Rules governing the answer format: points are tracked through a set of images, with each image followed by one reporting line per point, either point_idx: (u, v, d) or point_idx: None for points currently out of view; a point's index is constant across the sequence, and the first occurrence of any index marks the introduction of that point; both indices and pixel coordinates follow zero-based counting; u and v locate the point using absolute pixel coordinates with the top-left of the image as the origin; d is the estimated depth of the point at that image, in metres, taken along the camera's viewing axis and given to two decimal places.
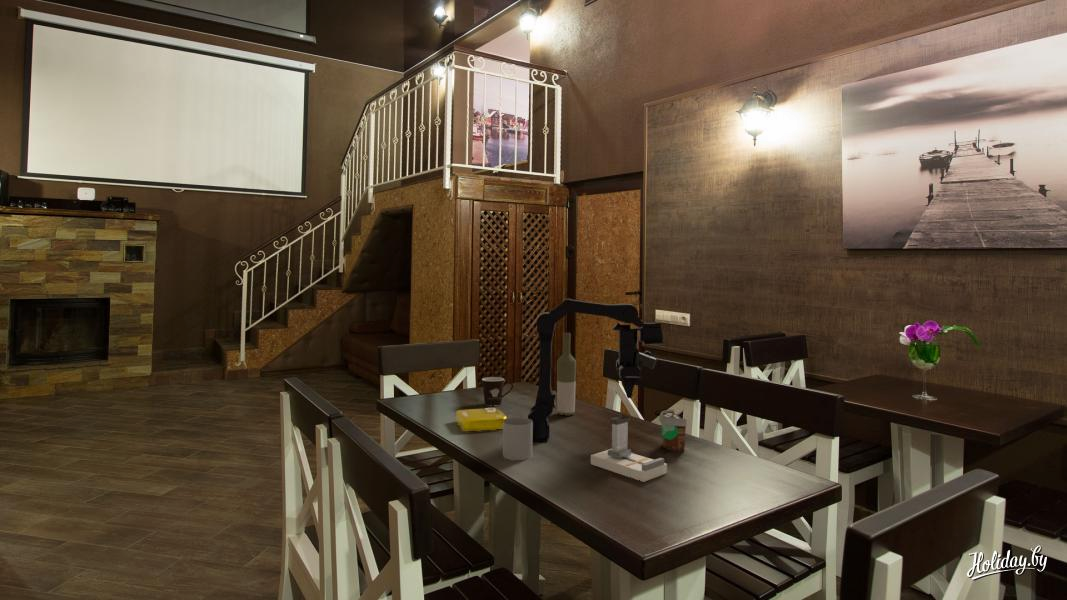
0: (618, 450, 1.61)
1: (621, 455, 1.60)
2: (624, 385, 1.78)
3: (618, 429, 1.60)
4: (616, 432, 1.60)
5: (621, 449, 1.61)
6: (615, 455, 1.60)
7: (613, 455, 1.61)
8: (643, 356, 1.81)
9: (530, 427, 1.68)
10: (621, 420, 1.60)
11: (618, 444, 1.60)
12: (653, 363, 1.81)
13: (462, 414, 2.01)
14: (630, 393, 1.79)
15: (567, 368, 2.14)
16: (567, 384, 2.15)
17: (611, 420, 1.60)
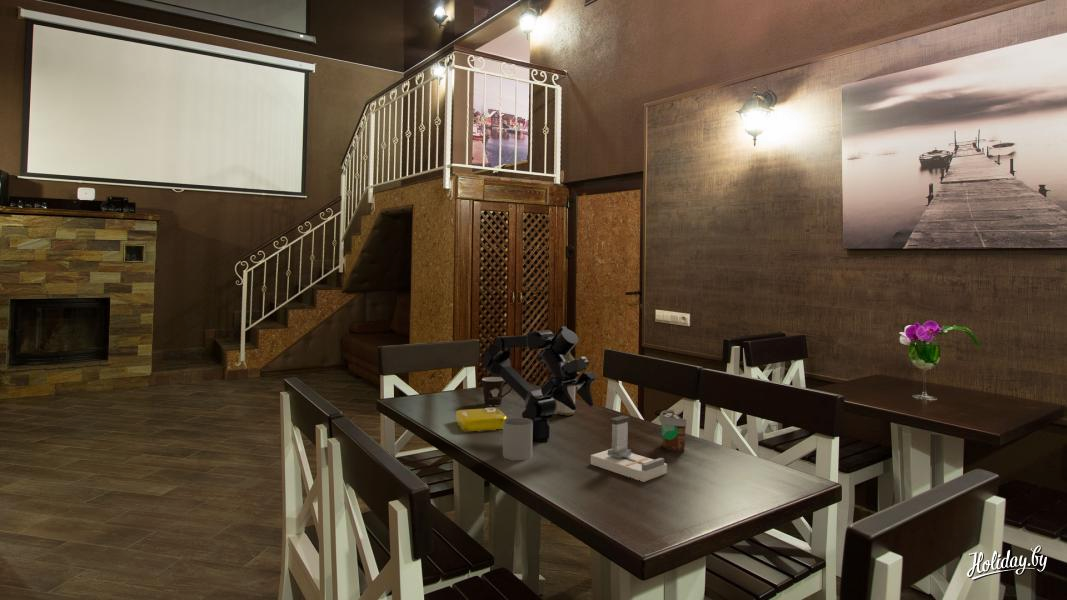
0: (618, 450, 1.61)
1: (621, 455, 1.60)
2: (561, 401, 1.71)
3: (618, 429, 1.60)
4: (616, 432, 1.60)
5: (621, 449, 1.61)
6: (615, 455, 1.60)
7: (613, 455, 1.61)
8: (565, 365, 1.74)
9: (530, 427, 1.68)
10: (621, 420, 1.60)
11: (618, 444, 1.60)
12: (574, 364, 1.71)
13: (462, 414, 2.01)
14: (571, 404, 1.70)
15: None
16: None
17: (611, 420, 1.60)
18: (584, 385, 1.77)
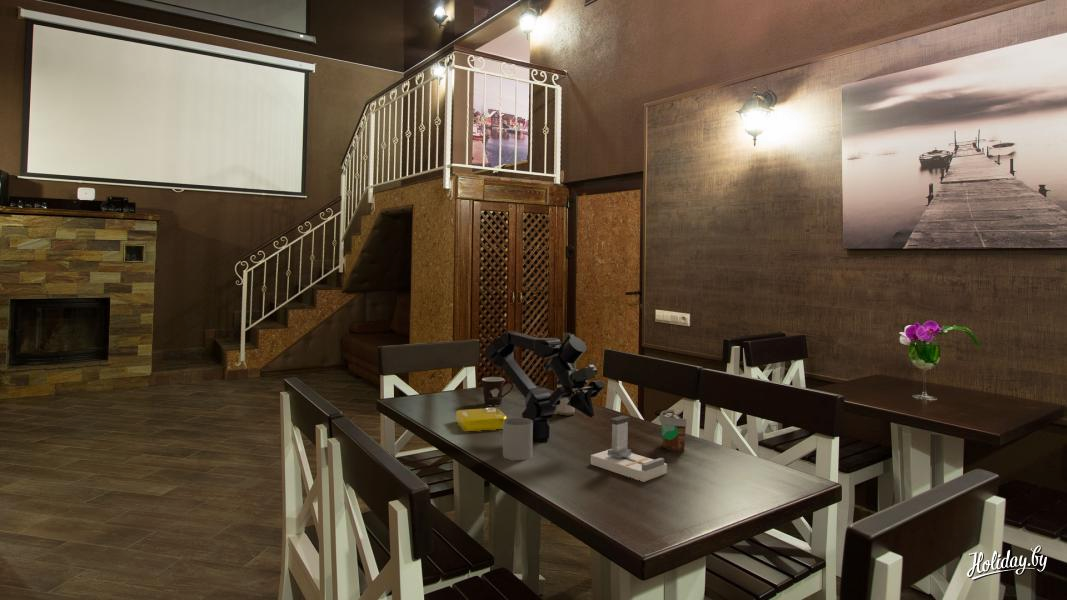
0: (618, 450, 1.61)
1: (621, 455, 1.60)
2: (578, 408, 1.71)
3: (618, 429, 1.60)
4: (616, 432, 1.60)
5: (621, 449, 1.61)
6: (615, 455, 1.60)
7: (613, 455, 1.61)
8: (573, 373, 1.71)
9: (530, 427, 1.68)
10: (621, 420, 1.60)
11: (618, 444, 1.60)
12: (582, 373, 1.69)
13: (462, 414, 2.01)
14: (588, 412, 1.69)
15: None
16: None
17: (611, 420, 1.60)
18: (585, 395, 1.72)
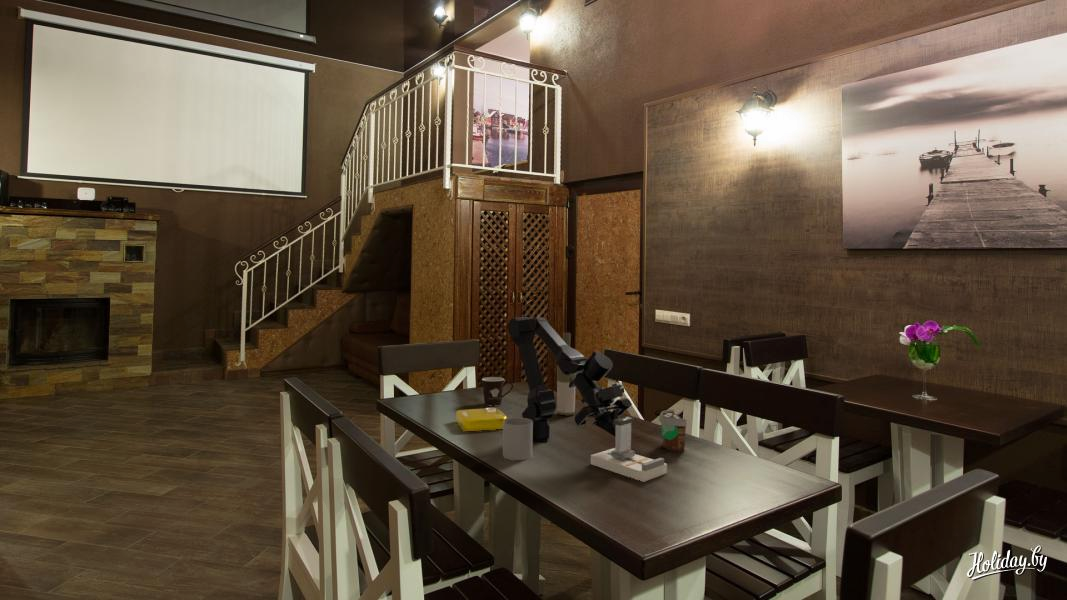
0: (621, 451, 1.60)
1: (625, 456, 1.59)
2: (604, 429, 1.64)
3: (622, 430, 1.59)
4: (619, 433, 1.59)
5: (624, 450, 1.61)
6: (618, 456, 1.59)
7: (616, 456, 1.60)
8: (599, 392, 1.64)
9: (530, 427, 1.68)
10: (624, 421, 1.59)
11: (621, 445, 1.59)
12: (609, 392, 1.61)
13: (462, 414, 2.01)
14: (615, 432, 1.62)
15: None
16: (567, 384, 2.15)
17: (614, 421, 1.60)
18: (611, 415, 1.65)
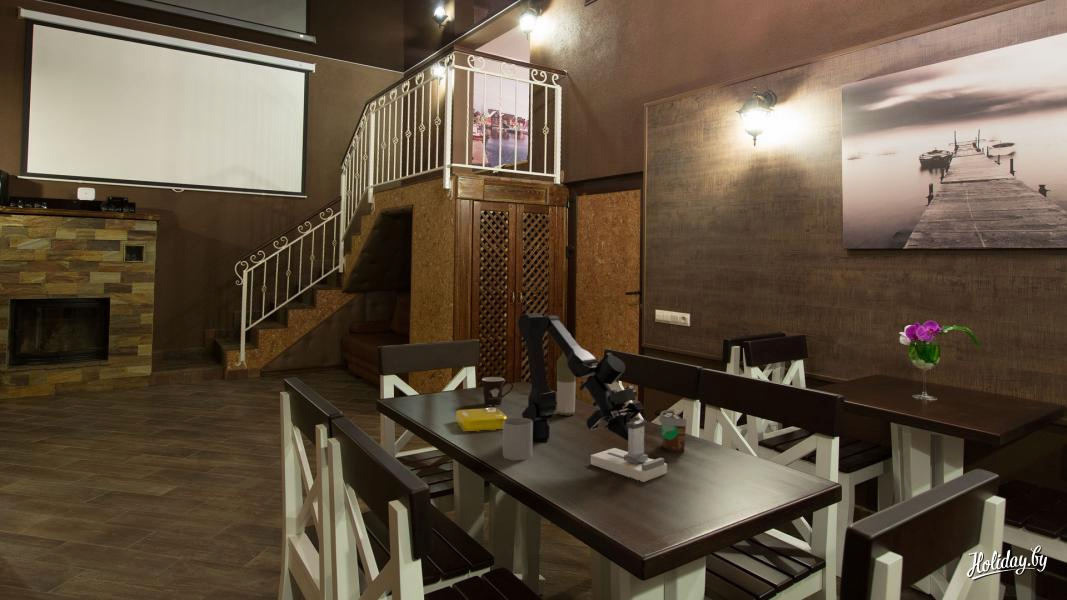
0: (634, 455, 1.56)
1: (638, 460, 1.56)
2: (617, 433, 1.61)
3: (635, 433, 1.56)
4: (632, 437, 1.56)
5: (637, 454, 1.57)
6: (631, 460, 1.56)
7: (629, 460, 1.57)
8: (611, 395, 1.61)
9: (530, 427, 1.68)
10: (638, 424, 1.56)
11: (634, 449, 1.56)
12: (622, 395, 1.58)
13: (462, 414, 2.01)
14: None
15: (567, 368, 2.14)
16: (567, 384, 2.15)
17: (627, 424, 1.56)
18: (624, 418, 1.62)
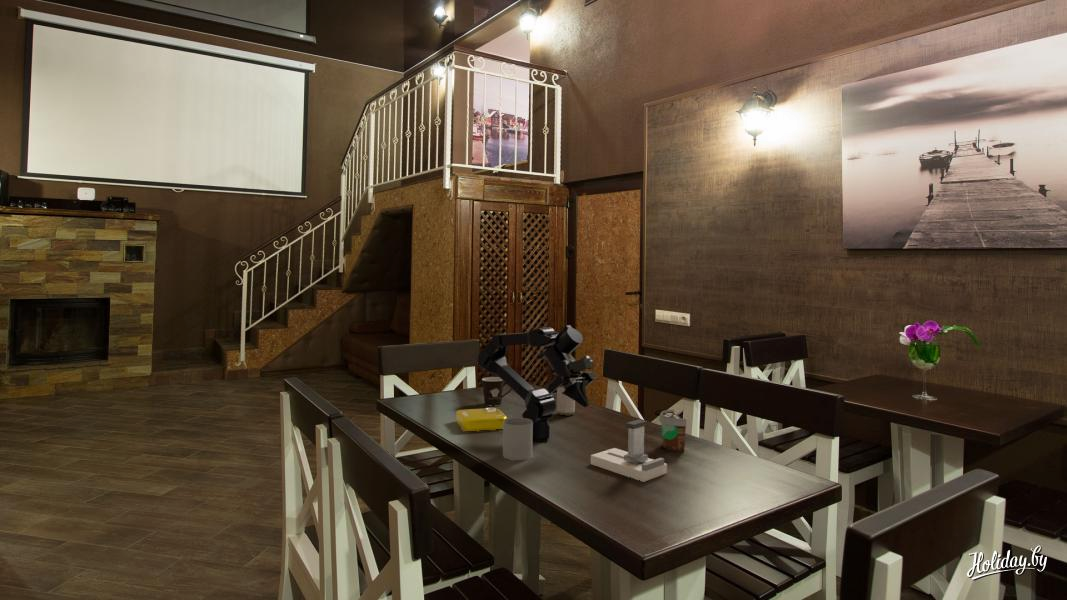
0: (634, 455, 1.56)
1: (638, 460, 1.56)
2: (573, 398, 1.75)
3: (635, 433, 1.56)
4: (632, 437, 1.56)
5: (637, 454, 1.57)
6: (631, 460, 1.56)
7: (629, 460, 1.57)
8: (571, 363, 1.75)
9: (530, 427, 1.68)
10: (638, 424, 1.56)
11: (634, 449, 1.56)
12: (581, 363, 1.73)
13: (462, 414, 2.01)
14: (583, 401, 1.74)
15: None
16: None
17: (627, 424, 1.56)
18: (579, 385, 1.76)
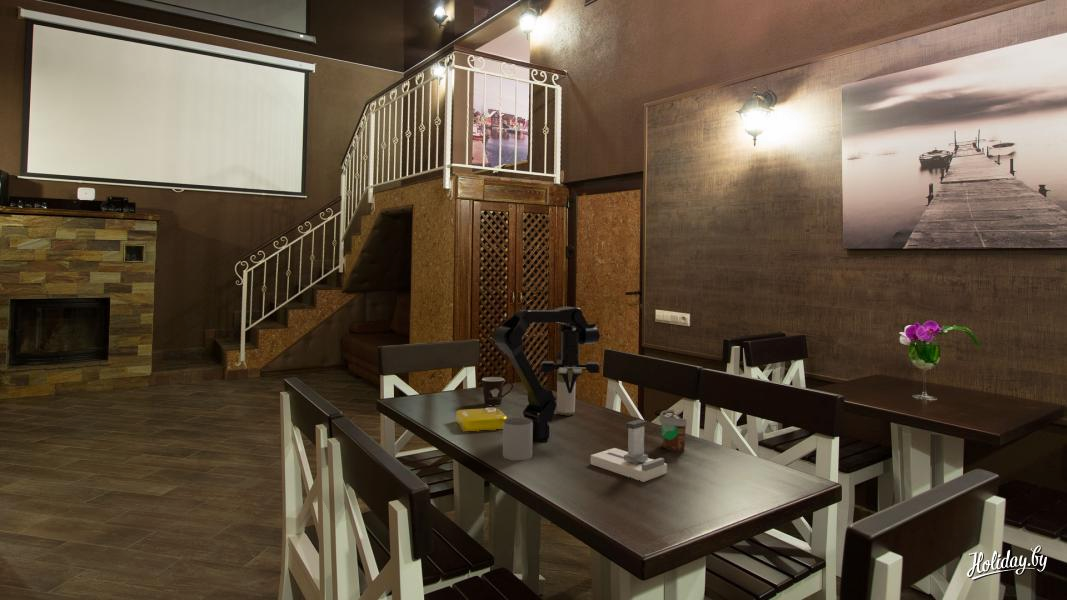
0: (634, 455, 1.56)
1: (638, 460, 1.56)
2: None
3: (635, 433, 1.56)
4: (632, 437, 1.56)
5: (637, 454, 1.57)
6: (631, 460, 1.56)
7: (629, 460, 1.57)
8: None
9: (530, 427, 1.68)
10: (638, 424, 1.56)
11: (634, 449, 1.56)
12: None
13: (462, 414, 2.01)
14: None
15: None
16: None
17: (627, 424, 1.56)
18: None
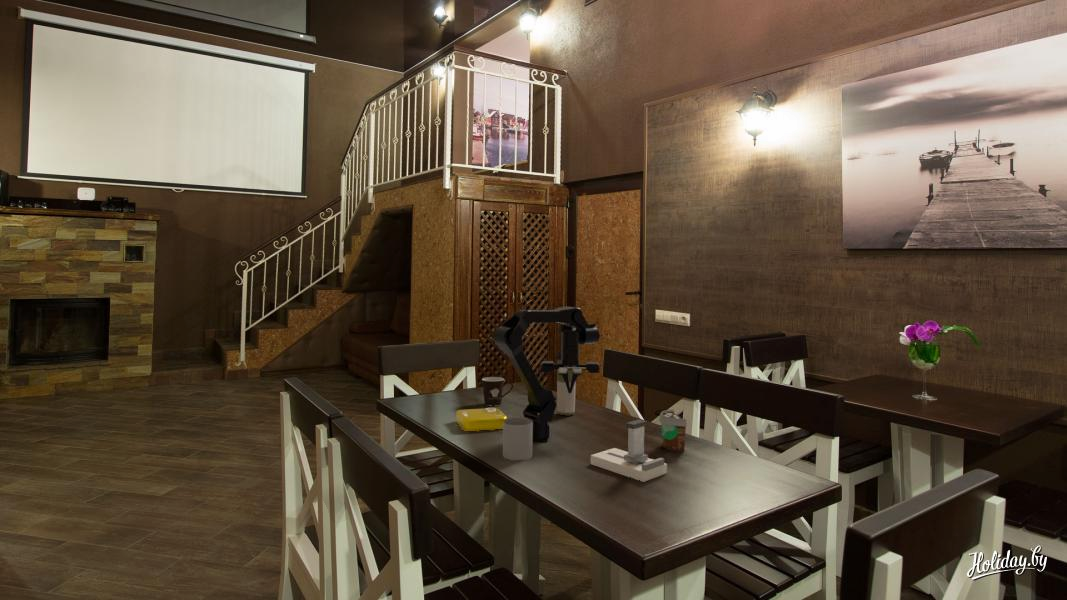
0: (634, 455, 1.56)
1: (638, 460, 1.56)
2: None
3: (635, 433, 1.56)
4: (632, 437, 1.56)
5: (637, 454, 1.57)
6: (631, 460, 1.56)
7: (629, 460, 1.57)
8: None
9: (530, 427, 1.68)
10: (638, 424, 1.56)
11: (634, 449, 1.56)
12: None
13: (462, 414, 2.01)
14: None
15: None
16: None
17: (627, 424, 1.56)
18: None
